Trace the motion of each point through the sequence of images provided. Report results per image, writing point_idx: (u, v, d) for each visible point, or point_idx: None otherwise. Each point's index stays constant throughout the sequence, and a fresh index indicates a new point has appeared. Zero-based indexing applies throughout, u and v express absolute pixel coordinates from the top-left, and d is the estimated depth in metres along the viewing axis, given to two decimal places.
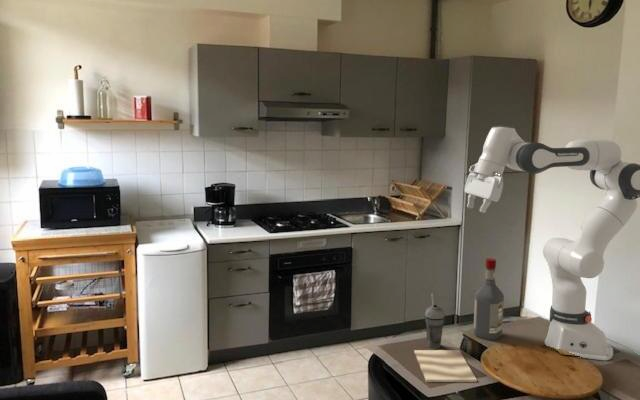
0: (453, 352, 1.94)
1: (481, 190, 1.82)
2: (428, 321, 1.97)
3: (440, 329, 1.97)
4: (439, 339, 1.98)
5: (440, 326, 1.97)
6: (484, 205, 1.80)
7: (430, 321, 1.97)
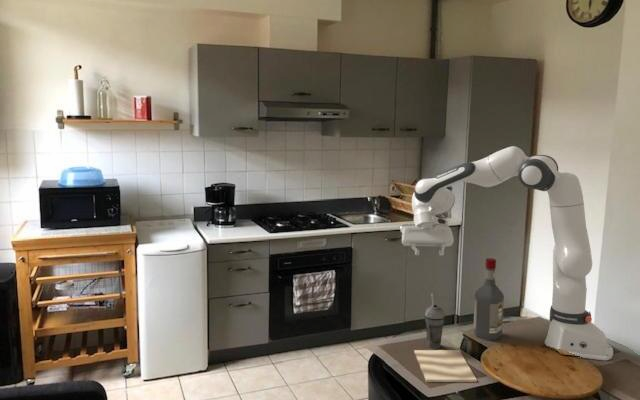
0: (453, 352, 1.94)
1: None
2: (428, 321, 1.97)
3: (440, 329, 1.97)
4: (439, 339, 1.98)
5: (440, 326, 1.97)
6: (413, 249, 2.14)
7: (430, 321, 1.97)
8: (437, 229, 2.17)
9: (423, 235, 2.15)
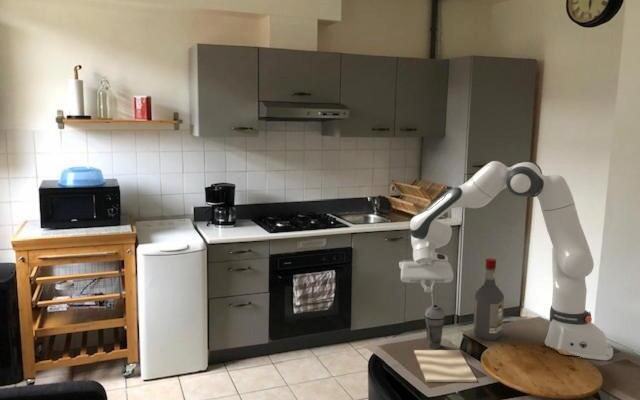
0: (453, 352, 1.94)
1: None
2: (428, 321, 1.97)
3: (440, 329, 1.97)
4: (439, 339, 1.98)
5: (440, 326, 1.97)
6: (422, 286, 2.11)
7: (430, 321, 1.97)
8: (436, 265, 2.14)
9: (422, 272, 2.12)
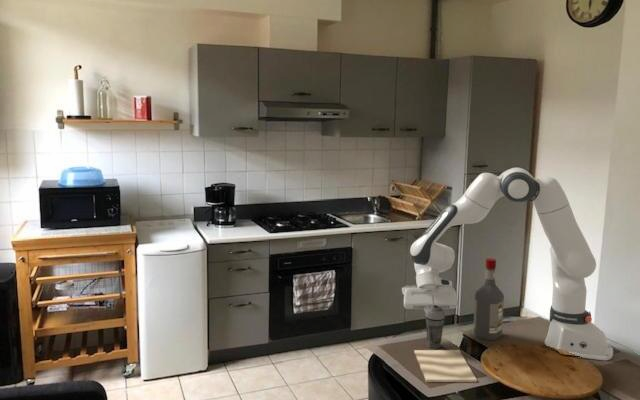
0: (453, 352, 1.94)
1: None
2: (428, 322, 1.97)
3: (440, 329, 1.97)
4: (439, 339, 1.98)
5: (440, 327, 1.97)
6: None
7: (430, 322, 1.96)
8: (440, 291, 2.07)
9: (426, 298, 2.06)
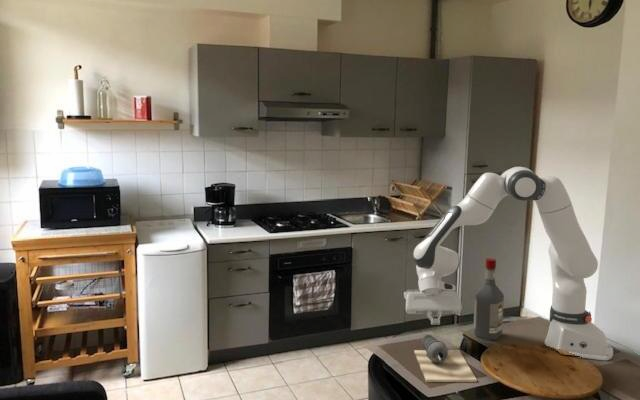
0: (453, 352, 1.94)
1: None
2: None
3: None
4: None
5: None
6: (429, 318, 1.99)
7: None
8: (443, 295, 2.02)
9: (428, 303, 2.00)
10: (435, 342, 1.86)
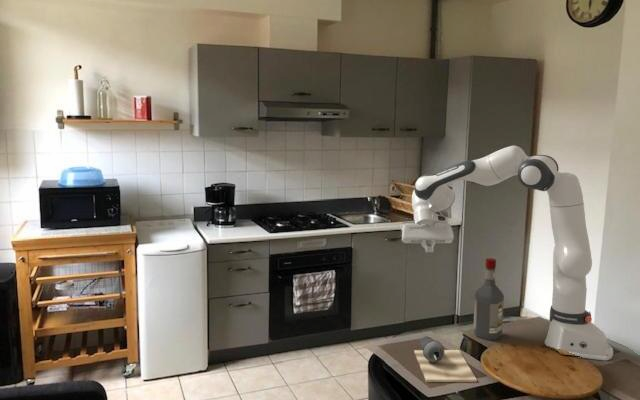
0: (453, 352, 1.94)
1: None
2: None
3: None
4: None
5: None
6: (423, 246, 2.15)
7: None
8: (437, 226, 2.18)
9: (423, 233, 2.16)
10: (429, 343, 1.86)
